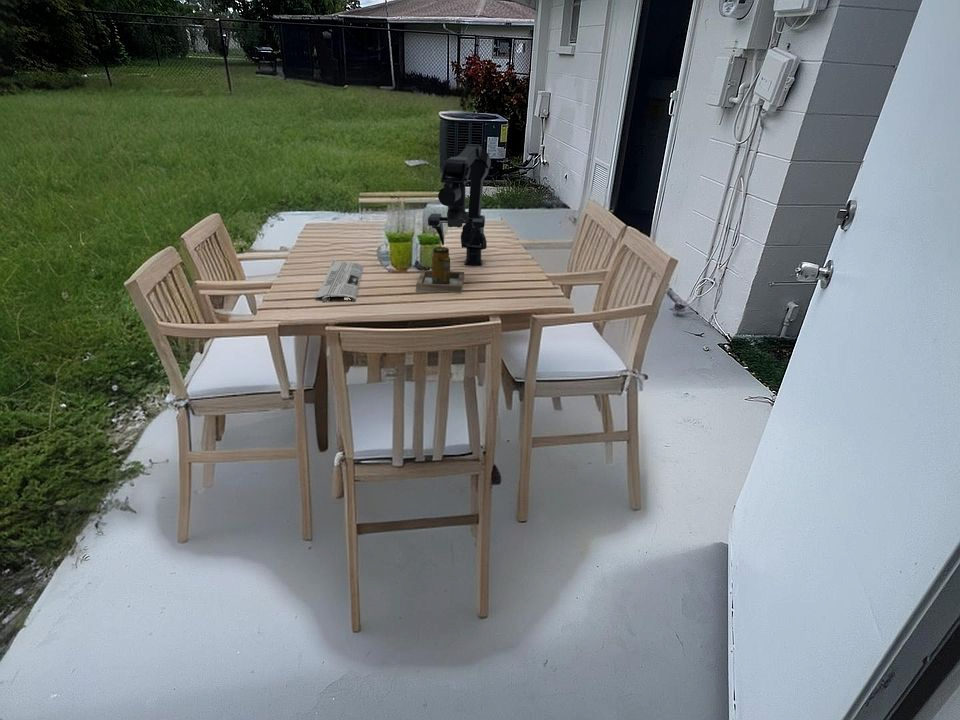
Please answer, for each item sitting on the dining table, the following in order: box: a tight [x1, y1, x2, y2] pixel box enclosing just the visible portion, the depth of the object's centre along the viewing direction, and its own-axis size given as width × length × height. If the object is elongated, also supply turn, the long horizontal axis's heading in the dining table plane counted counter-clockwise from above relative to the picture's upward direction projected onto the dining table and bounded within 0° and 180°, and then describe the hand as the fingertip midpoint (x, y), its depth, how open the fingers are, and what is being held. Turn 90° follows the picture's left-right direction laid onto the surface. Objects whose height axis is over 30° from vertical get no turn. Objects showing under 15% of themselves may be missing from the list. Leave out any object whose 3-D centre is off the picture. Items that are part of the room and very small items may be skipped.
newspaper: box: [315, 259, 364, 303], centre depth 193 cm, size 35×12×4 cm, turn 6°
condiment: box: [428, 246, 455, 285], centre depth 191 cm, size 7×8×12 cm
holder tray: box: [415, 269, 465, 294], centre depth 194 cm, size 15×15×2 cm
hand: (456, 245), depth 193 cm, fingers open, 9 cm apart
